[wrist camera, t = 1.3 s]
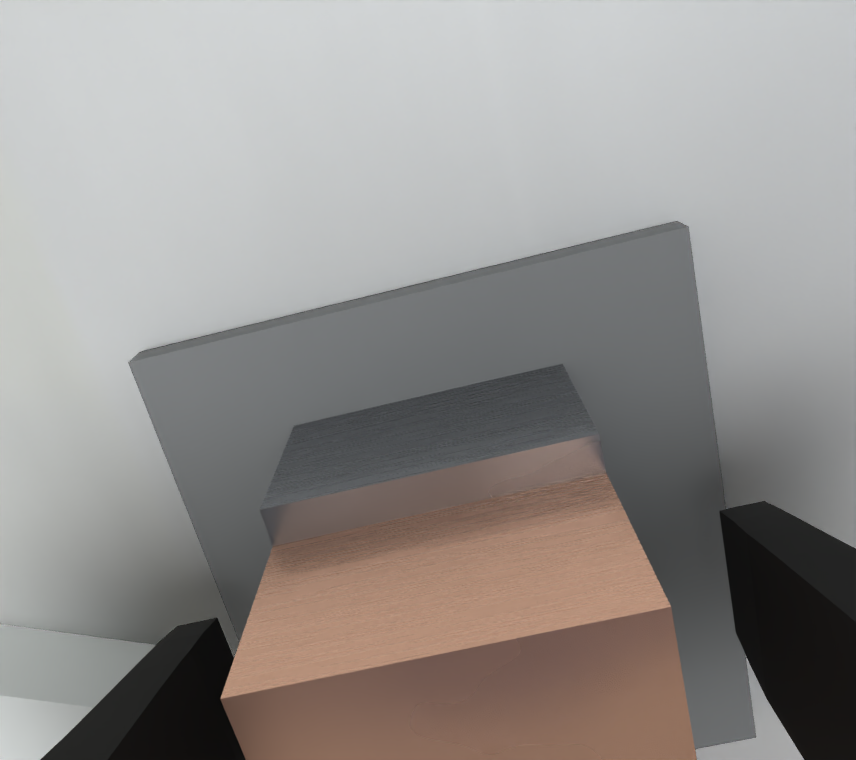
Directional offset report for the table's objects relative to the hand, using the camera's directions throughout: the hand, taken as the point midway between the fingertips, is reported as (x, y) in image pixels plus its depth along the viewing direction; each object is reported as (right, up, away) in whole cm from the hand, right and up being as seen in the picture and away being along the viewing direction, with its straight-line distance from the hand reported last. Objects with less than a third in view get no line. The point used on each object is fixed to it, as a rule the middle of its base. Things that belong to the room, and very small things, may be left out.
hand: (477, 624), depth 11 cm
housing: (0, 0, +1) cm, 1 cm away
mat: (0, +1, +2) cm, 2 cm away
